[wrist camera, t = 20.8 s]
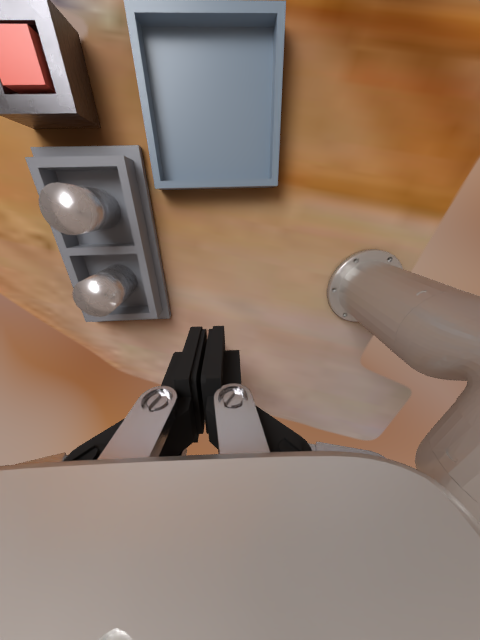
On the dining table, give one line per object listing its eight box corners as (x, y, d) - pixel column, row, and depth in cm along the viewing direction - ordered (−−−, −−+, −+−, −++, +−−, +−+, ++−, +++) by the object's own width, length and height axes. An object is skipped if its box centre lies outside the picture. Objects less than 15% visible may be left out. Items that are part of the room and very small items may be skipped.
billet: (116, 189, 30) (83, 183, 23) (123, 229, 32) (95, 235, 25) (77, 187, 30) (31, 181, 23) (87, 228, 32) (48, 234, 25)
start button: (50, 45, 23) (26, 23, 20) (64, 97, 25) (45, 84, 22) (9, 45, 23) (-20, 23, 20) (26, 97, 25) (2, 84, 22)
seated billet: (133, 263, 35) (108, 278, 27) (140, 294, 37) (119, 316, 30) (99, 264, 34) (66, 280, 27) (109, 295, 37) (80, 317, 30)
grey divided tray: (141, 147, 29) (129, 139, 26) (171, 315, 40) (165, 326, 36) (36, 148, 29) (9, 140, 25) (95, 319, 39) (82, 330, 36)
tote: (279, 22, 25) (285, 0, 22) (273, 187, 32) (277, 185, 29) (134, 22, 24) (123, -1, 22) (161, 190, 31) (155, 188, 29)
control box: (78, 33, 24) (45, -6, 20) (100, 127, 28) (76, 113, 24) (1, 33, 24) (-50, -6, 20) (33, 128, 28) (-4, 113, 23)
